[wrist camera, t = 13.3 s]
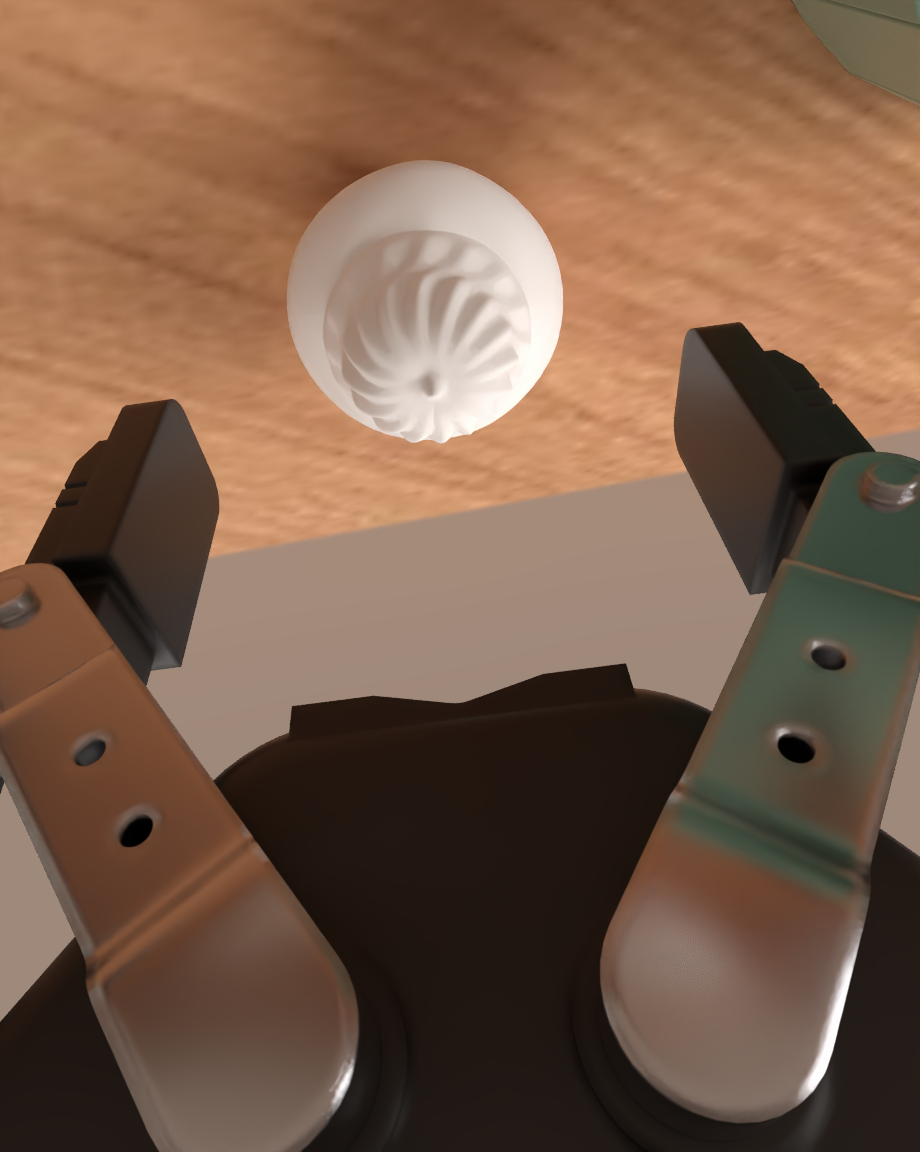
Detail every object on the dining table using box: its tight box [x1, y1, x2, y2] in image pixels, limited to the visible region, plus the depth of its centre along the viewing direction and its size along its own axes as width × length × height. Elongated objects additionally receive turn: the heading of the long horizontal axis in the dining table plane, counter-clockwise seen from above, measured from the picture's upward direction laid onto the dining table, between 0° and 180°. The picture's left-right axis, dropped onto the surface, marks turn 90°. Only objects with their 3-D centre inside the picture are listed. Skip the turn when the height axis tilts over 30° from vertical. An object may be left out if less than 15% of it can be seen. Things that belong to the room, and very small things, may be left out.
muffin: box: [287, 160, 563, 443], centre depth 16 cm, size 6×6×7 cm
